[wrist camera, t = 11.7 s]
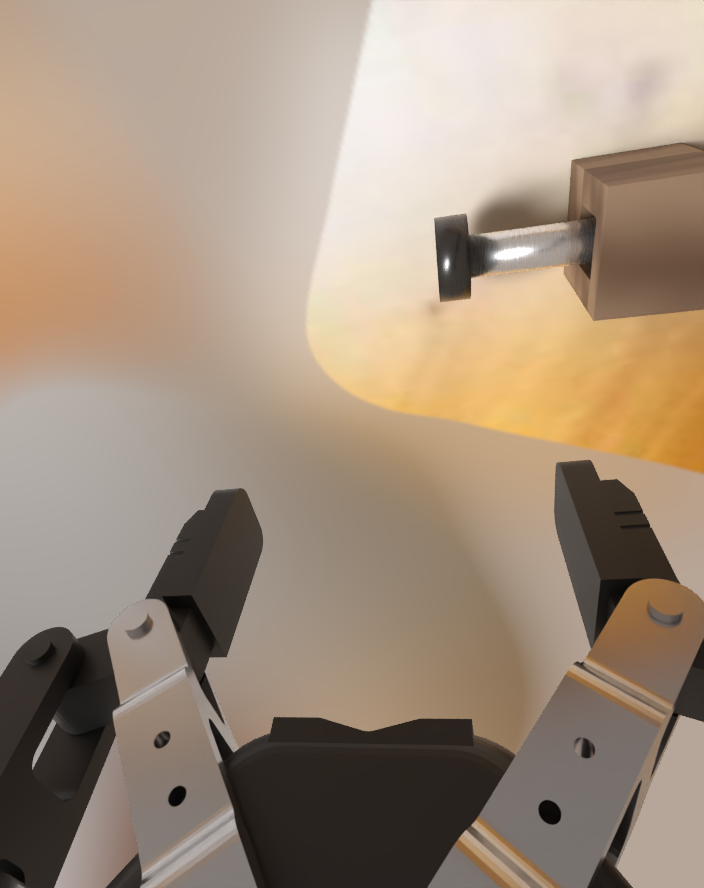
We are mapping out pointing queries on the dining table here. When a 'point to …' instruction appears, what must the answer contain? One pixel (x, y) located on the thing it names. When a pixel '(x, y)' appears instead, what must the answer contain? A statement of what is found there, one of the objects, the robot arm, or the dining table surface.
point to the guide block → (640, 231)
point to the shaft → (505, 251)
